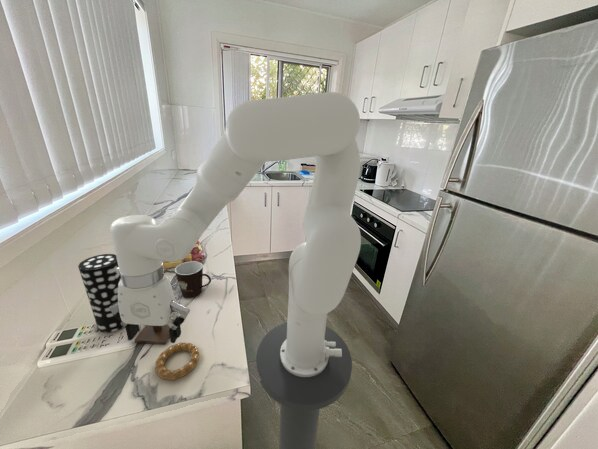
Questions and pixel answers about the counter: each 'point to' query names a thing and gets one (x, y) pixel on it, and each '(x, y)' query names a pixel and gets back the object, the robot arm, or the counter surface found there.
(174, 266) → the candy platter
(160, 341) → the stand
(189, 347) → the ring
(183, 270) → the coffee mug
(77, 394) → the counter surface
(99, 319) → the white-spotted black cylinder
